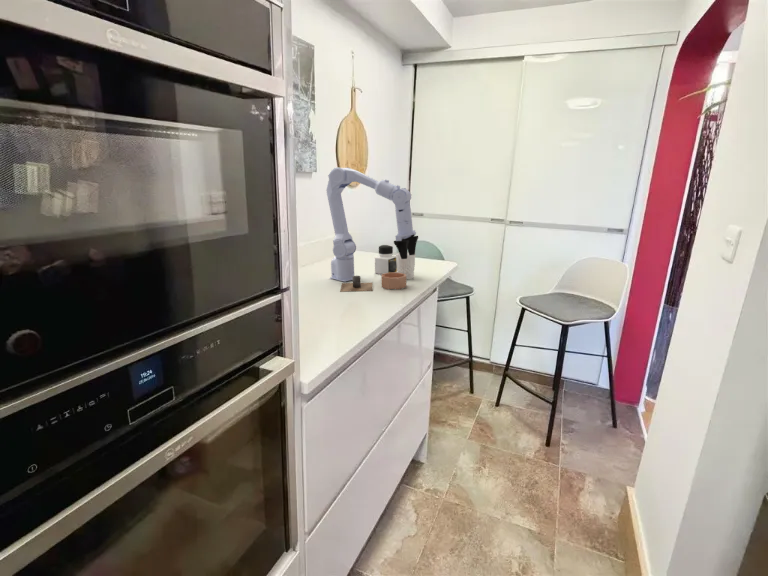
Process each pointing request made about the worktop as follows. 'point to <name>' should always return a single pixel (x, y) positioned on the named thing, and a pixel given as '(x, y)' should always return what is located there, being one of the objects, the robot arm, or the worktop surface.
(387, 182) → the robot arm
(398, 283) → the bowl
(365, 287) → the lid
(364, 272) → the worktop surface
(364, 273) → the worktop surface
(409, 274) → the white cup
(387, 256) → the medicine bottle
